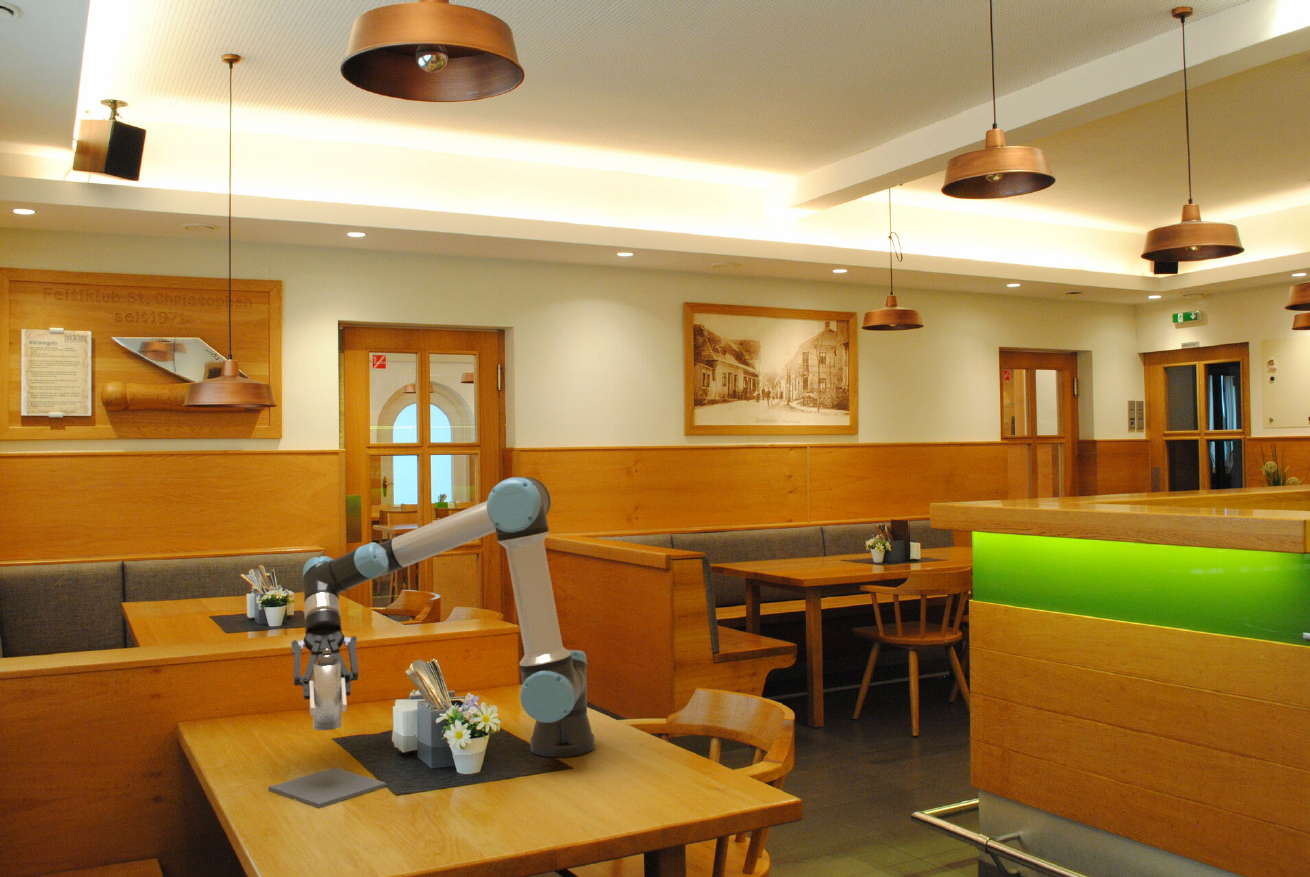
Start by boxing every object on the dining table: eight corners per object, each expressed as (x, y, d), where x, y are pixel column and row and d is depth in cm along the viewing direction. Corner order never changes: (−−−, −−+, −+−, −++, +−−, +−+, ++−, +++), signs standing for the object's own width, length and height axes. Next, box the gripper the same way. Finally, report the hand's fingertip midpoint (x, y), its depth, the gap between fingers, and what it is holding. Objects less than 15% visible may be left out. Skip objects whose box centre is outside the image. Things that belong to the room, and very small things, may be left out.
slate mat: (386, 786, 210) (386, 782, 210) (319, 808, 197) (319, 803, 197) (335, 771, 221) (335, 767, 221) (268, 790, 208) (268, 786, 208)
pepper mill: (346, 725, 210) (346, 647, 210) (323, 731, 205) (323, 651, 206) (331, 721, 213) (330, 644, 214) (307, 727, 209) (307, 648, 209)
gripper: (365, 625, 227) (373, 715, 212) (277, 631, 220) (279, 724, 205) (367, 605, 223) (376, 695, 207) (278, 610, 216) (280, 704, 200)
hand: (328, 709), depth 206 cm, fingers closed on pepper mill, 6 cm apart
